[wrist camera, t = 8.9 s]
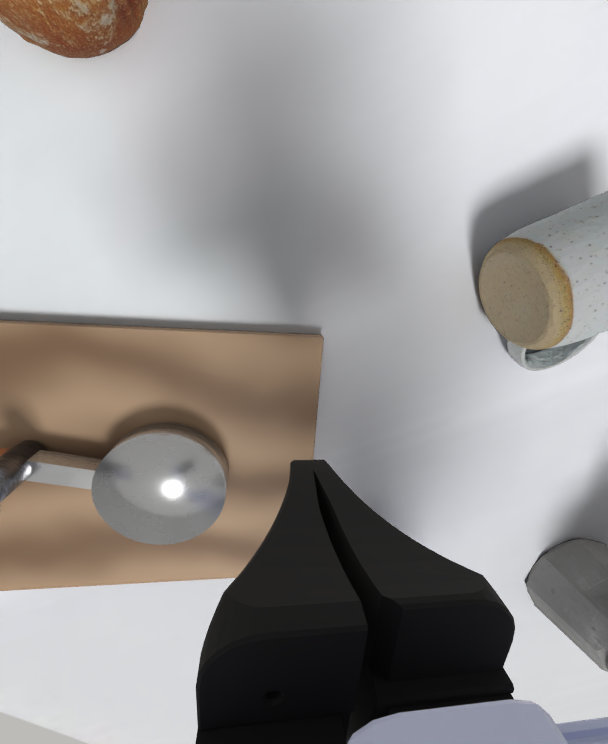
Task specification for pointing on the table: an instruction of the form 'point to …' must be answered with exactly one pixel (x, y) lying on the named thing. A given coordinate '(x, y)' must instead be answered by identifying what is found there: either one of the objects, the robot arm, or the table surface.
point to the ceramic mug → (550, 284)
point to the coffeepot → (575, 594)
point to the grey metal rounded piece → (136, 480)
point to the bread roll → (74, 24)
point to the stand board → (139, 408)
